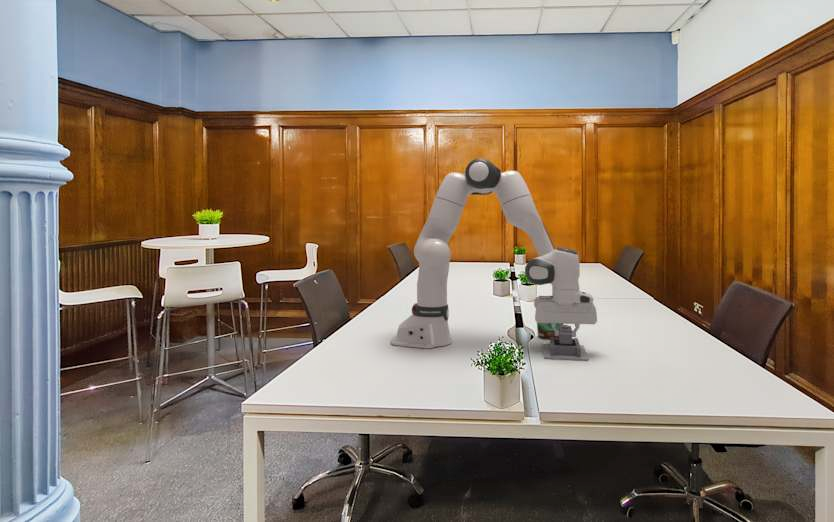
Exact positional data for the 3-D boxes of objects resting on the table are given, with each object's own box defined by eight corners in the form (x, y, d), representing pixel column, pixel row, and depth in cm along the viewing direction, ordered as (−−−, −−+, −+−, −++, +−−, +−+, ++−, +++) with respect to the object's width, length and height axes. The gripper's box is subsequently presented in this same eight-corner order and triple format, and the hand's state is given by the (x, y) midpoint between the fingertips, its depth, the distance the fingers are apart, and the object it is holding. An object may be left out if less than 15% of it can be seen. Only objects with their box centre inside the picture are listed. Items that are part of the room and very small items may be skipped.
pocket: (543, 358, 171) (544, 348, 171) (542, 345, 187) (543, 335, 187) (588, 361, 168) (588, 350, 168) (583, 347, 184) (583, 337, 184)
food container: (542, 341, 193) (542, 314, 192) (534, 337, 199) (534, 311, 198) (571, 338, 196) (572, 312, 195) (563, 334, 202) (563, 309, 201)
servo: (560, 344, 173) (560, 329, 173) (558, 337, 182) (558, 323, 182) (572, 344, 172) (572, 329, 172) (570, 337, 181) (570, 323, 181)
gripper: (534, 297, 175) (534, 337, 176) (598, 298, 171) (597, 339, 172) (534, 294, 181) (533, 332, 183) (595, 295, 177) (595, 334, 178)
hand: (565, 336), depth 177 cm, fingers closed on servo, 4 cm apart
